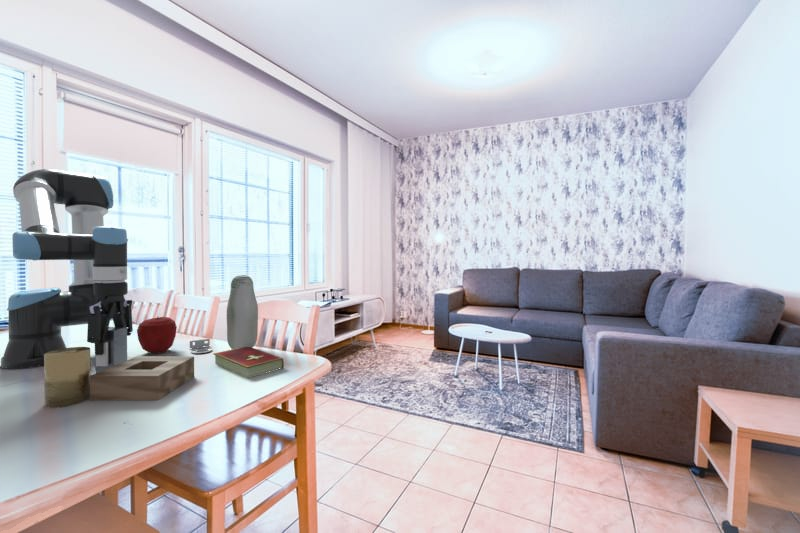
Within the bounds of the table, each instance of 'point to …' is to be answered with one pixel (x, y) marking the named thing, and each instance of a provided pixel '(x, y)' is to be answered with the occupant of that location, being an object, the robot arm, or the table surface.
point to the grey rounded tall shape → (242, 313)
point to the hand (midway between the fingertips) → (111, 361)
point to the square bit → (115, 347)
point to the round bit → (67, 376)
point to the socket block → (142, 378)
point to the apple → (157, 334)
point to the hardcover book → (248, 361)
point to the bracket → (200, 345)
